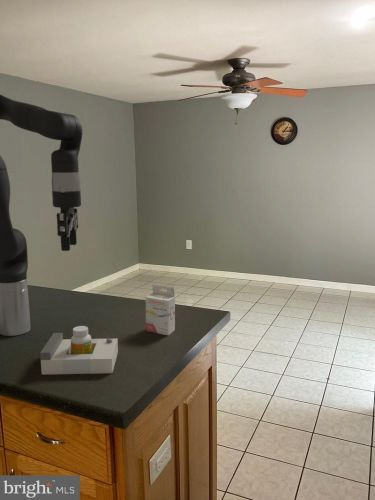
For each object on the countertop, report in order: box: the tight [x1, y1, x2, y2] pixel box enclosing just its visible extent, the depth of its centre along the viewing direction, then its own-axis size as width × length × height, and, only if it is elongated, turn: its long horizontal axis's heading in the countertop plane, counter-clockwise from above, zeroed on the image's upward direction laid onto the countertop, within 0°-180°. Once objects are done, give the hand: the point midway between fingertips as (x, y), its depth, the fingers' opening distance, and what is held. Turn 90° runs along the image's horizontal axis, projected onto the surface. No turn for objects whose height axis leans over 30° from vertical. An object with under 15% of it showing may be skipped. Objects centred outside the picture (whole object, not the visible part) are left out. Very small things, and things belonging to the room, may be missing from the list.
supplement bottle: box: [70, 325, 92, 354], centre depth 114 cm, size 5×5×10 cm
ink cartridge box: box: [145, 284, 176, 336], centre depth 136 cm, size 9×5×15 cm, turn 65°
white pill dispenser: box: [39, 332, 119, 375], centre depth 114 cm, size 18×13×6 cm
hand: (69, 247), depth 118 cm, fingers open, 8 cm apart
